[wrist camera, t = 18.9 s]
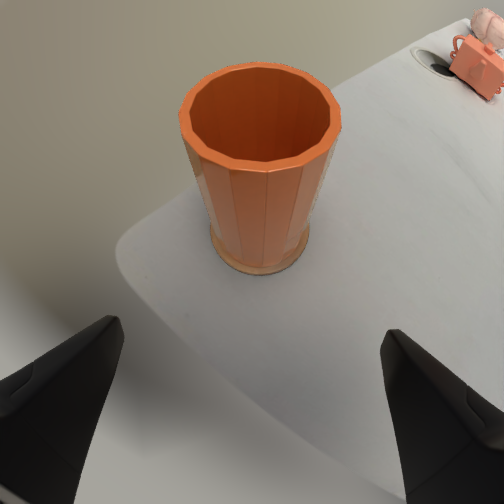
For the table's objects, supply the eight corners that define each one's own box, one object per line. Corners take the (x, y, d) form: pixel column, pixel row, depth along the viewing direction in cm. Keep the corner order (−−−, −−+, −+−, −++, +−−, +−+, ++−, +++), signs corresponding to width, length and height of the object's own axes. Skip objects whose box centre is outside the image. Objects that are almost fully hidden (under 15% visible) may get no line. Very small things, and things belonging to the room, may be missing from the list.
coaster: (263, 296, 23) (263, 295, 22) (191, 231, 24) (190, 228, 24) (327, 225, 24) (328, 223, 24) (256, 170, 26) (256, 167, 26)
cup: (314, 255, 23) (368, 154, 11) (226, 277, 23) (190, 190, 10) (288, 180, 25) (306, 56, 13) (208, 198, 25) (173, 78, 13)
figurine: (463, 33, 44) (460, 33, 36) (477, 3, 34) (478, -5, 26) (498, 59, 42) (503, 65, 33) (513, 29, 32) (522, 28, 24)
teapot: (500, 88, 33) (519, 60, 25) (493, 120, 30) (518, 86, 22) (451, 50, 36) (465, 19, 28) (432, 72, 32) (451, 33, 24)
